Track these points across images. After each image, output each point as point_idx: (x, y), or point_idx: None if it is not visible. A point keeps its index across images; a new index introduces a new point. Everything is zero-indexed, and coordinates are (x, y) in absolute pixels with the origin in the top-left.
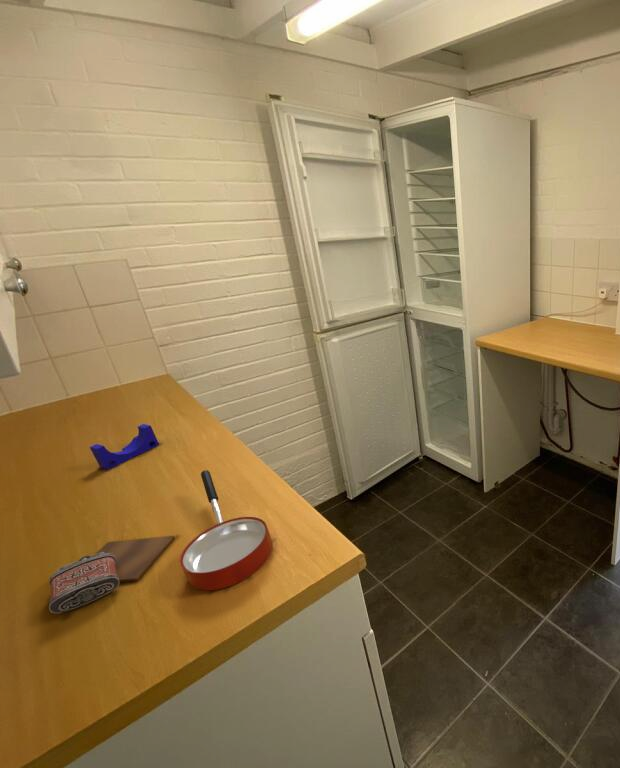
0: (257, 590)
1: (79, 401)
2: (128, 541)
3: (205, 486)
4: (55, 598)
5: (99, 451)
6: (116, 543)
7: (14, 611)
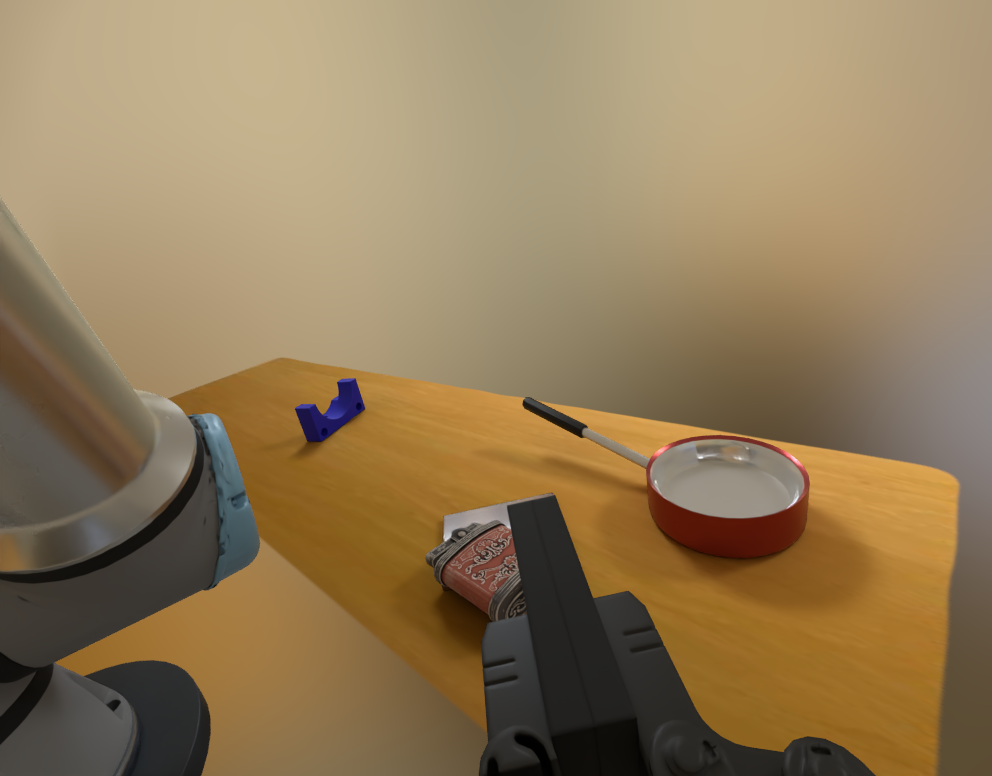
0: (860, 545)
1: (200, 392)
2: (480, 509)
3: (552, 415)
4: (501, 595)
5: (311, 412)
6: (461, 515)
7: (390, 638)
